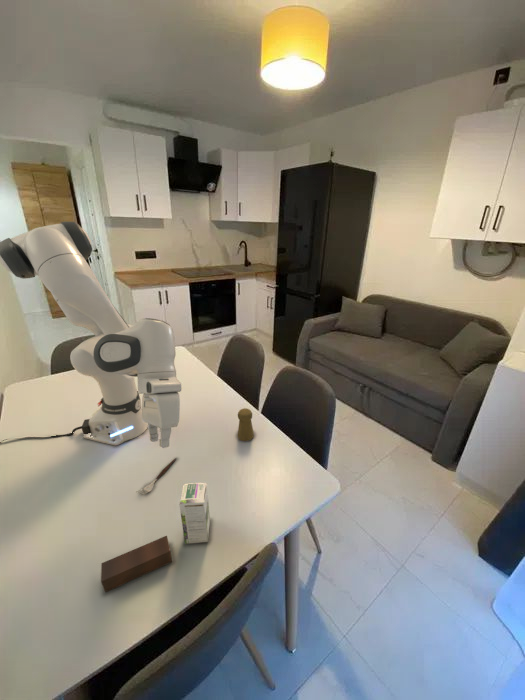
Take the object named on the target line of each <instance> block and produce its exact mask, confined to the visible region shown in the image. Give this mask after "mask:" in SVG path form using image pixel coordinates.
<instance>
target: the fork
mask: <svg viewBox="0 0 525 700" xmlns="http://www.w3.org/2000/svg"><path fill="white" fill-rule="evenodd" d="M176 460H177V458H174V459H173V460H172V461H171V462H170V463H168V464H167V465H166V466H165V467H164V468H162V470H161V471H160V473H159V474H158V475H157V476H156V478H155V479H154V480H153V481H152V482H151V483H149V484H147V485H146V486H145V487H143V488H140V489H139V490H137V491H135V493H137V494H139V495H141V496H143V495H146V494H148V493H150V492H151V491H153V489H154V485H155V482H156V481H157V480H159V478H161V477H162V476H163V475H164V474H165V473H166V472H167V471H168V470H169V468H170V467H172V465H173V464H174V462H175V461H176Z"/></svg>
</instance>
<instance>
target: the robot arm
mask: <svg viewBox="0 0 525 700" xmlns="http://www.w3.org/2000/svg"><path fill="white" fill-rule="evenodd" d="M92 246H93V245H92V241H91V238H90V236H89V235H88V233H87V231H86V230H85V229H84V228H83V227H82V226H81V225H80V224H79V223H77V222H75V221H60V223H54V224H48V225H44V226H39V227H35V228H33V229H31V230H28V231H26V232H22V233H20V234H18V235H15V236H14V237H11V238H10V237H7V238H5V239H3V240H1V241H0V263H1V265H2V266H3V267H4V269H6V270H7V271H8V272H9V273H11V274H13V275H14V276H15V277H17V278H20V279H25V280H26V279H33V278H36V276H38V278H39V280H40V281H41V282H42V285H44V287H45V288H46V289H47V290H48V291H49V292H50V293H51V296H52V297H53V300H54V301H55V302H56V304H57V305H58V306H59V308H60V309H61V311H62V312H63V314H64V316H65V317H66V318H67V320H68V321H69V323H70V324H72V325H73V326H75V327H81V328H84V329H87V330H88V331H90V333H92V334H93V336H92V337H90V338H88V339H85V340H83V341H82V342H81V343H79V345H77V346H76V347H75V348H73V349H72V350H71V352H70V356H69V357H70V358H69V360H70V364H71V366H72V367H73V368H74V370H75V371H77V373H79V374H81V375H83V376H86V377H90V378H93V379H94V380H95V381H96V383H97V384H98V386H99V389H100V392H101V395H102V398H101V399H100V401H99V402H98V403H97V407H99V408H97V410H95V411H94V412H93V413H92V415H91V416H90V417H89V418H86V419H83V423H82V425H81V426H77V427H75V428H73V429H72V430H71V432H72V433H71V432H68V433H64V434H55V435H56V436H55V437H54V438H62V437H63V438H64V437H69V436H72V435H74V434H75V432H76V431H78V430H82V435H83V434H88V433H91V435H90V437H91V436H93V437H92V438H89V437H85V436H83V438H84V439H86V440H91V441H94V442H98V443H103V444H106V445H110V446H119V445H121V444H122V443H124V442H126V441H129V440H133V439H135V438H137V437H139V436H141V435H142V434H144V432H145V431H148V434H149V441H150V442H152V443H156V442H158V441H159V447H160V448H162V449H167V448H169V447H170V439H171V434H172V428H177V427H178V425H179V423H180V411H181V410H180V409H181V408H180V407H181V399H180V393H181V392H182V381H180V380H179V379H178V376H177V368H176V365H175V360H176V340H175V339H176V338H175V334H174V329H173V327H172V326H171V325H170V324H169V323H168V322H167V321H164V320H161V319H157V318H147V317H145V318H141V319H139V320H138V321H137V322H136V323H135V324H133V325H132V324H129V323H127V322H126V320H125V319H124V318H123V317H122V315H121V314H120V313H119V311H118V310H117V308H116V307H115V306H114V304H113V303H112V301H111V300H110V298H109V296H108V295H107V293H106V292H105V290H104V288H103V287H102V285H101V283H100V282H99V280H98V278H97V276H96V275H95V273H94V271H93V269H92V268H91V266H90V264H89V263H88V262H87V260H88V259H89V258H90V257H91V255H92V252H93V247H92ZM135 377H136V378H137V385H136V380H135ZM141 394H142V400H141V397H140V395H141ZM158 428H159V433H160V434H159V433H158ZM147 429H148V430H147ZM73 432H74V433H73ZM159 435H160V439H159ZM93 438H94V439H93Z"/></svg>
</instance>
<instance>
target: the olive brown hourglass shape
mask: <svg viewBox="0 0 525 700" xmlns="http://www.w3.org/2000/svg"><path fill="white" fill-rule="evenodd" d="M237 418H238V427H237V428H238V429H237V439H238V440H240V441H241V442H249V441H251V440H253V439H254V438H255V437H254V436H255V434H254V428H253V424H252V423H253V422H252V419H253V412H252V410H251V409H250V408H245V407H244V408H241V409H239V410H238V412H237Z"/></svg>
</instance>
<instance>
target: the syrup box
mask: <svg viewBox="0 0 525 700" xmlns="http://www.w3.org/2000/svg"><path fill="white" fill-rule="evenodd" d="M180 496H181V497H180V499H179V500H180V501H179V513H180V518H181V527H182V532H183V539H184V544H186V545H187V544H188V545H189V544H199V543H207V542H209V536H210V524H211V515H210V506H209V495H208V483H207V482H189V483H183V486H182V490H181V495H180Z"/></svg>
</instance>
